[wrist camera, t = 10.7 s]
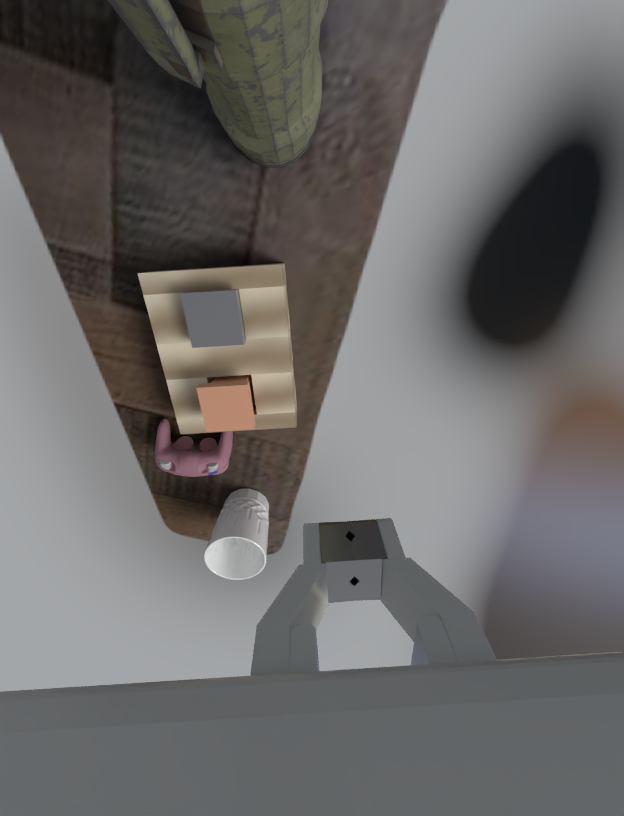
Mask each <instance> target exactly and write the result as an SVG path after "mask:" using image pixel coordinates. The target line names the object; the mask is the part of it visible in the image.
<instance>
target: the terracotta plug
mask: <svg viewBox="0 0 624 816" xmlns="http://www.w3.org/2000/svg"><path fill="white" fill-rule="evenodd" d="M196 389H197V393H198V398H199V402H200V406H201V411H202V415H203V420H204V424H205V428H206V432H219V431H235V430H251V429H254V428H255V417H254V411H253V407H254V404H255V398H254V391H253V384H252V377H251V375H238V376H222V377H214V379H213V380H212V382H211V383H203V384H199V385H198V386H197V388H196Z"/></svg>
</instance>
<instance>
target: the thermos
mask: <svg viewBox="0 0 624 816" xmlns="http://www.w3.org/2000/svg"><path fill="white" fill-rule="evenodd" d="M108 2H109V3H110V4H111V6H112V7H113V8H114V9H115V11H116V12H117V13H118V15H119V16H120V17H121V19H122V20H123V21H124V23H125V24H126V25H127V26H128V28H129V29H130V30H131V32H132V33H133V34H134V36H135V37H136V38H137V40H138V41H139V42H140V43H141V45H142V46H143V47H144V49H145V50H146V51H147V52H148V53H149V54H150V55H151V57H152V58H153V59H154V60H155V61H156V62H157V63H158V64H159V65H160V66H161V67H162V68H163V69H164V70H165V71H166V72H168V73H169V74H170V75H172V76H174V77H176V78H179V79H181V80H183V81H185V82H187V83H189V84H191V85H193V86H196V87H198V88H200V89H201V85H202V79H204V81H205V82H206V91H207V94H208V97H209V100H210V102H211V105H212V108H213V111H214V113H215V115H216V116H217V118H218V119H219V121H220V123H221V124H222V126H223V128H224V129H225V131H226V132H227V134H228V135H229V137H230V138H231V140H232V141H233V143H234V144H235V146H236V147H238V148H239V149H240V151H241V152H242V153H243V154H244V155H245V156H246V157H248V158H249V159H250V160H251V161H252V162H254V163H256V164H259V165H261V166H264V167H266V168H281V167H284V166H286V165H289V164H291V163H294V162H295V161H296V160H297V159H298V158H299V157H300V156H301V155H302V154H303V153H304V152H305V151H306V149H307V147H308V145H309V144H310V142H311V140H312V138H313V135H314V131H315V128H316V124H317V120H318V116H319V112H320V105H321V97H322V60H321V56H320V52H319V35H320V24H321V22H322V20H323V18H324V16H325V13H326V9H327V5H328V0H108Z"/></svg>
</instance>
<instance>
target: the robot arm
mask: <svg viewBox="0 0 624 816" xmlns="http://www.w3.org/2000/svg"><path fill="white" fill-rule="evenodd" d="M303 529H304V530H303V537H304V538H303V541H304V542H303V545H304V547H303V548H304V549H303V557H304V558H303V559H304V565H299V566H298V567H297V569H296V570H295V572H294V573H293V574H292V576H291V577H290V579H289V580H288V582H287V583H286V584H285V586H284V587H283V589H282V591H281V592H280V593H279V595H278V596H277V597H276V599H275V600H274V602H273V603H272V605H271V606H270V607H269V609H268V610H267V612H266V613H265V615H264V616H263V618H262V619H261V620H260V622H259V623H258V625H257V629H256V637H255V644H254V653H253V660H252V668H251V676H241V677H226V678H225V677H224V678H209V679H194V680H177V681H162V682H146V683H131V684H114V685H98V686H83V687H67V688H52V689H35V690H20V691H4V692H0V816H624V652H612V653H597V654H581V655H566V656H550V657H534V658H519V659H503V660H497V659H496V658H495V655H494V653H493V651H492V649H491V647H490V645H489V643H488V641H487V639H486V636H485V635H484V632H483V630H482V628H481V626H480V624H479V622H478V620H477V618H476V616H475V614H474V612H473V611H472V610H471V609H470V608H468V607H467V606H466V605H465V604H464V603H462V602H461V601H460V600H459V599H458V598H457V597H455V596H454V595H453V594H452V593H451V592H450V591H448V590H447V589H446V588H445V587H444V586H442V585H441V584H440V583H439V582H438V581H437V580H435V579H434V578H433V577H432V576H431V575H429V574H428V573H427V572H426V571H425V570H424V569H423V568H421V567H420V566H419V565H418V564H417V563H416V562H414V561H413V560H412V559H411V558H405V555H404V552H403V550H402V546H401V544H400V541H399V538H398V535H397V532H396V529H395V526H394V523H393V520H392V519H391V518H387V519H376V520H375V519H374V520H373V519H372V520H359V521H347V522H326V523H308V524H304V527H303ZM319 534H320V536H319ZM354 600H381V601H382V603H383V604H384V605H385V606H386V608H387V609H388V610H389V611H390V613H391V614H392V615H393V617H394V618H395V619H396V620H397V621H398V623H399V624H400V625H401V626H402V628H403V629H404V630H405V631H406V633H407V634H408V635H409V636H410V637H411V639H412V640H413V641H414V648H413V654H412V661H411V665H410V666H397V667H396V666H395V667H379V668H364V669H350V670H335V671H334V670H333V671H319V663H318V650H317V638H316V630H317V628H318V626H319V624H320V622H321V620H322V618H323V615H324V613H325V611H326V609H327V607H328V603H333V602H343V601H354Z"/></svg>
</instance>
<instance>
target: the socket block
mask: <svg viewBox="0 0 624 816" xmlns="http://www.w3.org/2000/svg"><path fill="white" fill-rule="evenodd" d="M138 277H139V281H140V285H141V288H142V292H143V296H144V299H145V303H146V307H147V311H148V314H149V318H150V322H151V326H152V329H153V333H154V337H155V341H156V344H157V348H158V352H159V355H160V359H161V363H162V367H163V370H164V374H165V378H166V382H167V385H168V389H169V393H170V397H171V400H172V404H173V408H174V412H175V415H176V419H177V423H178V426H179V430H180V434H195V433H211V432H206V428H205V424H204V420H203V415H202V411H201V406H200V402H199V398H198V393H197V389H196V388H197V386H198V385H199V384H203V383H211V382H212V380H213V379H214V377H222V376H238V375H251V377H252V384H253V391H254V398H255V404H254V407H253V411H254V417H255V428H254V429H251V430H259V429H275V428H291V427H296V422H297V404H296V392H295V380H294V369H293V357H292V345H291V334H290V322H289V310H288V298H287V287H286V275H285V263H278V264H262V265H246V266H230V267H214V268H198V269H182V270H166V271H154V272H145V273H138ZM226 289H239V295H240V302H241V308H242V315H243V322H244V329H245V330H244V333H245V340H246V342H245V344H244V345H231V346H215V347H200V348H192V345H191V340H190V336H189V331H188V326H187V322H186V317H185V313H184V308H183V304H182V299H181V295H180V293H183V292H194V291H210V290H226ZM235 431H243V430H235ZM219 432H227V431H219Z"/></svg>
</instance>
